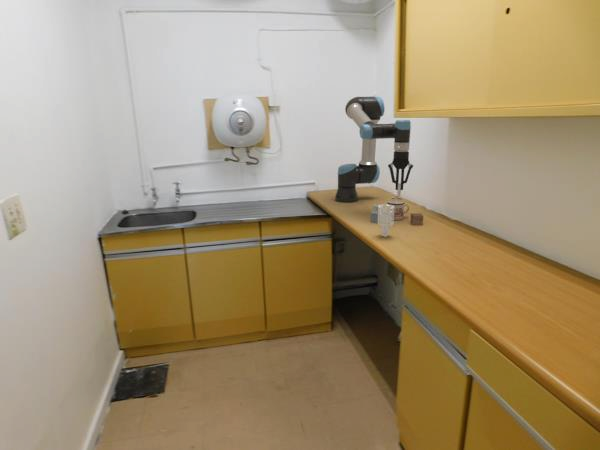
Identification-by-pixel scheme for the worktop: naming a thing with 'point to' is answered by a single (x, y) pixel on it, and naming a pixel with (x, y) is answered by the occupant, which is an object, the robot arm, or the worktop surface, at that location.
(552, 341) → the worktop surface
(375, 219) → the slate block
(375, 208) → the sage block
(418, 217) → the walnut block
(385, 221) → the pale grey tall piece
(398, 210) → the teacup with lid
